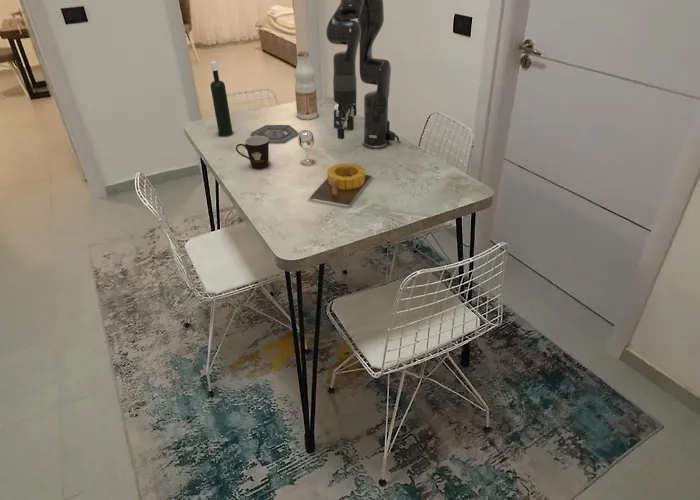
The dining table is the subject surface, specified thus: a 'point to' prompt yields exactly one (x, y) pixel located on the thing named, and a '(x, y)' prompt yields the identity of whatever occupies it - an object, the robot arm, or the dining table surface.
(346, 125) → the bust
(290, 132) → the grey hexagonal frame
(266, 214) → the dining table surface
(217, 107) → the wine bottle
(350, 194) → the rack
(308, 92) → the white milk bottle
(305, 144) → the wineglass
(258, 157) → the coffee mug
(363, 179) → the yellow segmented ring
